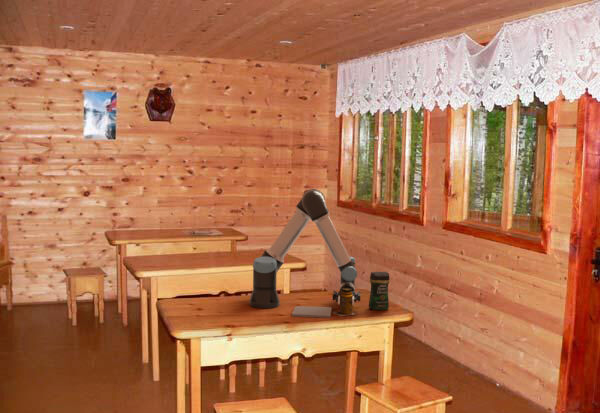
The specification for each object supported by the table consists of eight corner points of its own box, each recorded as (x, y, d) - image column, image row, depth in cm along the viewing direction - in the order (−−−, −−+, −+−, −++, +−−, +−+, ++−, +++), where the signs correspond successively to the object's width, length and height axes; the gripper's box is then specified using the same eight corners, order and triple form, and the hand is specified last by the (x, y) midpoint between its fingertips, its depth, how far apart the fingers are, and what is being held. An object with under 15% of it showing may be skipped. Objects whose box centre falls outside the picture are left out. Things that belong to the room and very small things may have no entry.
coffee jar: (371, 311, 317) (372, 273, 315) (367, 307, 325) (368, 270, 323) (390, 310, 319) (391, 273, 317) (385, 306, 326) (386, 270, 325)
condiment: (355, 314, 310) (356, 289, 309) (341, 316, 306) (342, 291, 305) (346, 310, 317) (347, 286, 315) (332, 313, 312) (333, 288, 311)
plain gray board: (291, 316, 305) (291, 314, 305) (295, 308, 321) (295, 306, 321) (330, 317, 303) (330, 315, 303) (331, 309, 319) (331, 307, 319)
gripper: (365, 298, 328) (366, 310, 305) (328, 297, 330) (325, 308, 307) (366, 284, 327) (366, 294, 304) (328, 283, 329) (325, 293, 306)
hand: (346, 301), depth 306 cm, fingers closed on condiment, 6 cm apart
